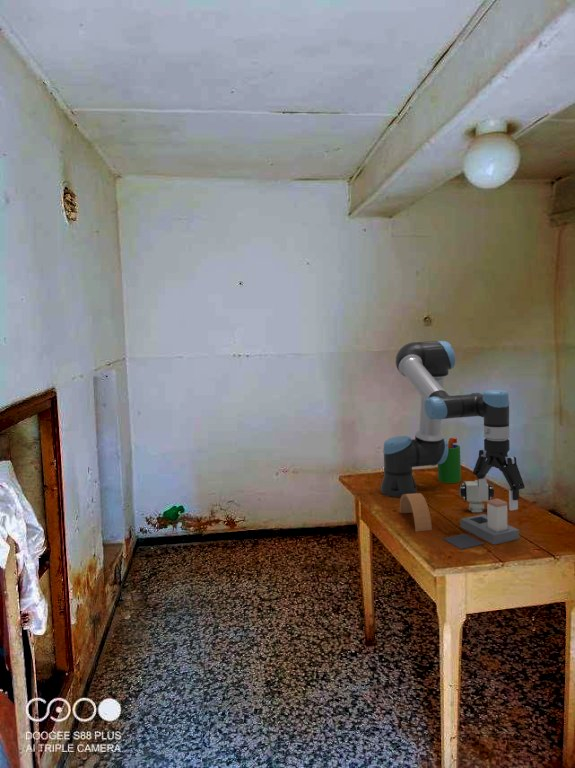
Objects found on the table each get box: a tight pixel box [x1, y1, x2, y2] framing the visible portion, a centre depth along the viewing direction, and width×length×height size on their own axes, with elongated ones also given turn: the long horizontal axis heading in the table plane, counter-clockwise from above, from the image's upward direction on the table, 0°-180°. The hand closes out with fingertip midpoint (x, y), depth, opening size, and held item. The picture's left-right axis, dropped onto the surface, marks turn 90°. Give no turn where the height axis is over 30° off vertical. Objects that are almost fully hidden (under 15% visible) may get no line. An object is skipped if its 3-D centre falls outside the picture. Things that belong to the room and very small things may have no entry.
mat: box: [442, 532, 485, 550], centre depth 162 cm, size 9×9×1 cm
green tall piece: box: [437, 436, 462, 484], centre depth 228 cm, size 10×9×20 cm
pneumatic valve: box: [458, 479, 495, 514], centre depth 189 cm, size 6×12×12 cm, turn 78°
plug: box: [486, 498, 508, 532], centre depth 164 cm, size 4×4×12 cm
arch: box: [398, 492, 433, 534], centre depth 182 cm, size 6×20×10 cm, turn 3°
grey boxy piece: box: [459, 513, 520, 545], centre depth 168 cm, size 16×10×4 cm, turn 20°
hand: (497, 503), depth 163 cm, fingers open, 13 cm apart
